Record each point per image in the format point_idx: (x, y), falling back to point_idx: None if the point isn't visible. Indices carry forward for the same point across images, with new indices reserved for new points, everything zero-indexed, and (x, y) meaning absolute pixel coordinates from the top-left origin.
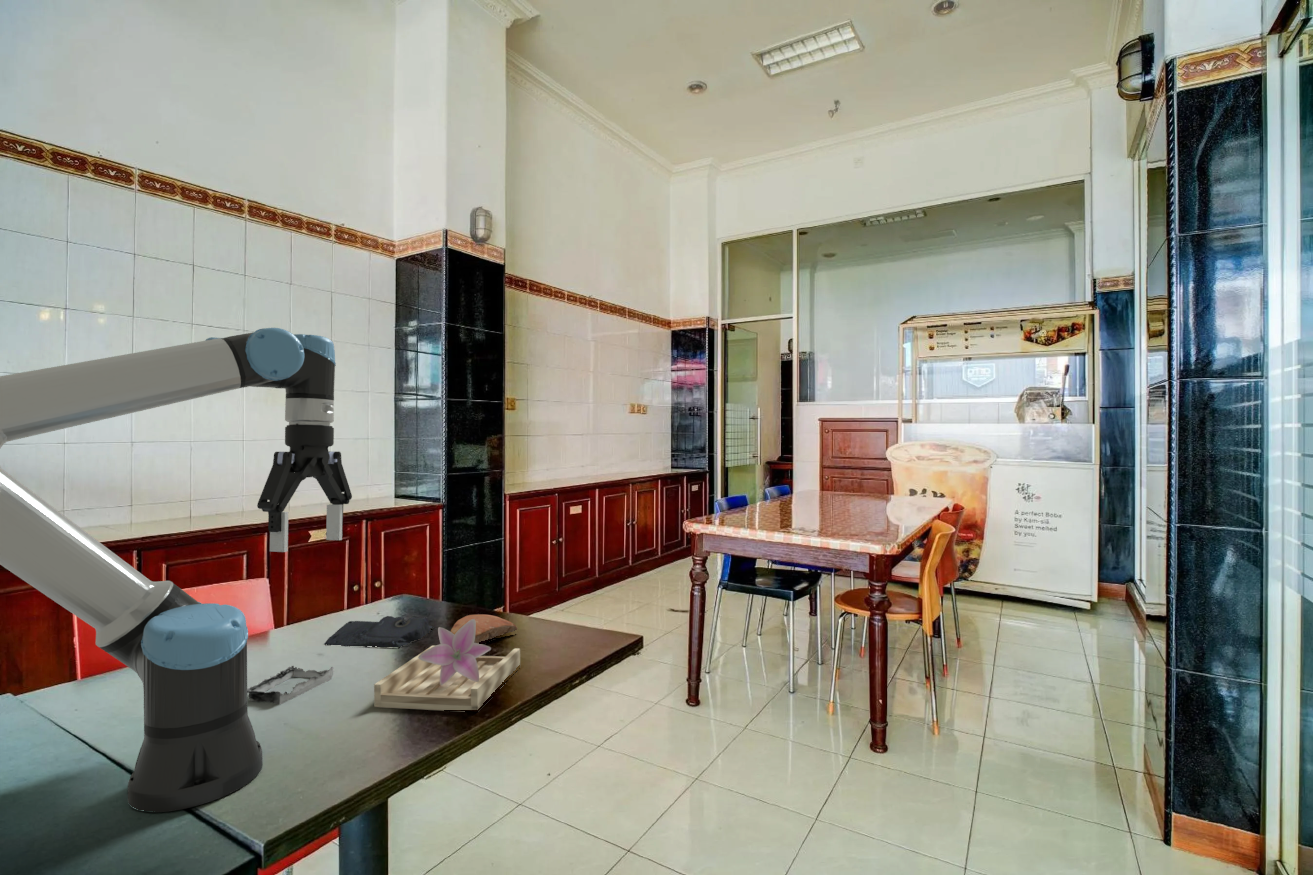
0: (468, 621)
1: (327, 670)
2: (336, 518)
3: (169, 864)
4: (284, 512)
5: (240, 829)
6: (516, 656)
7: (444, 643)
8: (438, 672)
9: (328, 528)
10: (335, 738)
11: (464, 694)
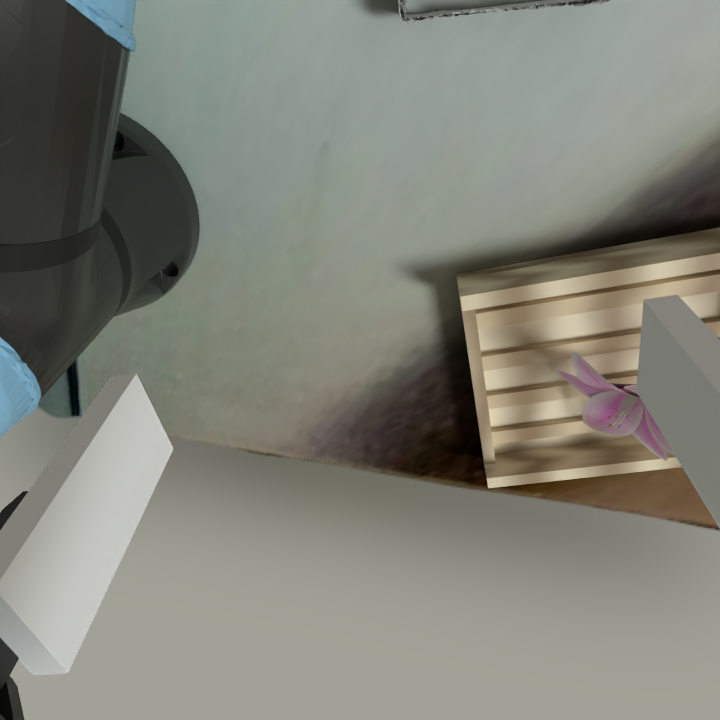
0: None
1: (594, 3)
2: (713, 485)
3: None
4: (32, 671)
5: (85, 380)
6: None
7: (637, 394)
8: None
9: (679, 364)
10: (314, 305)
11: (517, 432)
